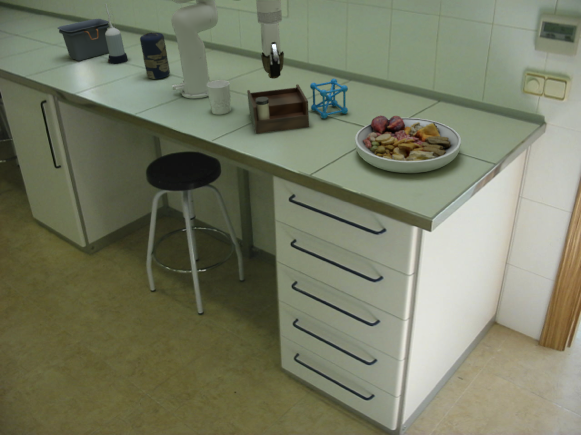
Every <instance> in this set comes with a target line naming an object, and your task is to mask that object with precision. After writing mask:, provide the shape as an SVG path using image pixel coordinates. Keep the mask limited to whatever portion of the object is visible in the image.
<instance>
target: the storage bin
mask: <svg viewBox="0 0 581 435" xmlns="http://www.w3.org/2000/svg"><path fill="white" fill-rule="evenodd" d="M109 28H110V24H109V21H108V20H105V19H103V18H92V19H87V20H83V21H79V22H73V23H70V24H69V23H68V24H64V25H60V26H58V27H57V30H58V33H59V34H61V35H62V37H63V40H64V43H65V46H66V49H67V52H68V56H69V58H70V59H73V60H75V61H77V62H78V61H79V62H81V61H83V60H87V59H90V58H94V57H99V56H102V55H107V54H109V50H108V46H107V41H106V35H105V33H106V31H107V30H108V29H109Z"/></svg>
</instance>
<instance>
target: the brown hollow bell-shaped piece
mask: <svg viewBox="0 0 581 435" xmlns="http://www.w3.org/2000/svg"><path fill="white" fill-rule="evenodd" d="M271 54H273V53H271ZM278 56H279V63H280V73H281V72H282V71H283V69H284V60H285V52H284V51H283V50H282V51H281V50H280V54H279V55H278ZM260 57H261V58H260V59H261V63H262V68H263V71H264V72H266V74H268V75H267V76H268V78H269V79H278V78H279V77H280V76H276V77H271V75H270V56H269V55H268V56H265V54H264V52H263V51H262V52H261V54H260ZM272 58H273V57H272Z"/></svg>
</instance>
